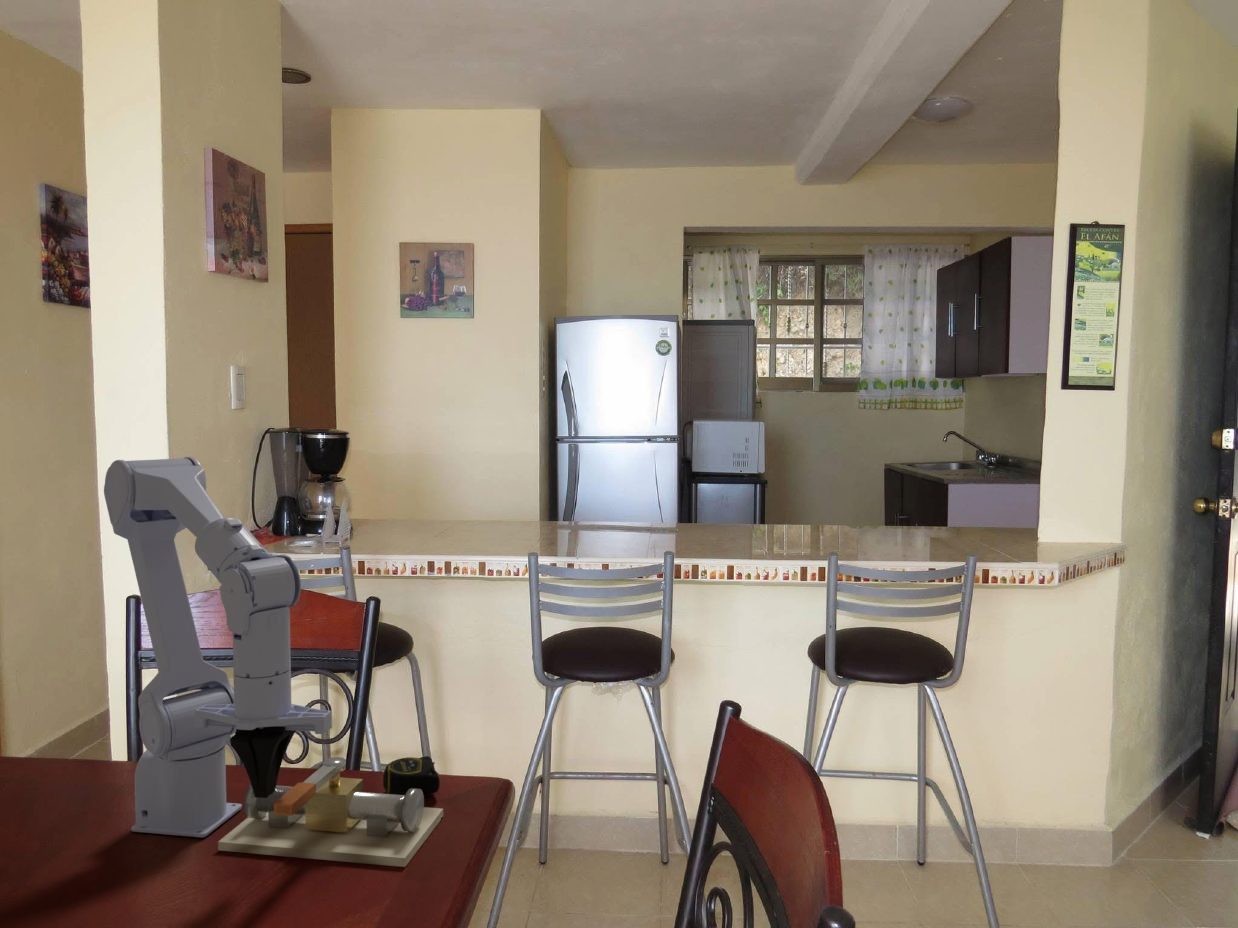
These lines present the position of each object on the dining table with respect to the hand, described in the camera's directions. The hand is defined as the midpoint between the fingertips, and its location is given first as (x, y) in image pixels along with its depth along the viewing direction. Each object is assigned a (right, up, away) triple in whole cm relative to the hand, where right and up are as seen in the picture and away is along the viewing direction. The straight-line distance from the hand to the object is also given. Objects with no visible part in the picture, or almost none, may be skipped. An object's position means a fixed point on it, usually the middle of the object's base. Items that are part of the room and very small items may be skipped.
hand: (265, 793), depth 97 cm
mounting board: (+5, -7, +8) cm, 12 cm away
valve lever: (+4, 0, +2) cm, 5 cm away
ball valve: (+5, -7, +8) cm, 12 cm away
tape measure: (+12, -7, +19) cm, 24 cm away
